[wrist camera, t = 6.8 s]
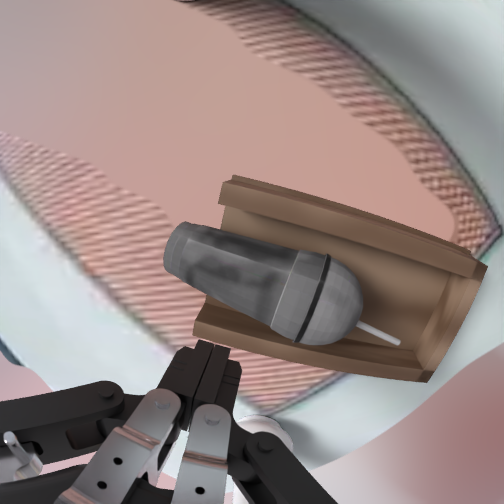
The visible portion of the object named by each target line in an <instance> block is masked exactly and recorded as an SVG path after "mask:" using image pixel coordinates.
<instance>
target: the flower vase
mask: <svg viewBox="0 0 504 504" xmlns="http://www.w3.org/2000/svg"><path fill="white" fill-rule="evenodd" d="M236 423H237V424H238V425H239V426H240V427H241V428H243V429H245V430H247V431H249V432H251V433H252V434H253V433H255V432H260V431H265V432H270V433H272V434H274V435H276V436H278V437H279V438H280V439H281V440H282V442H283V443H284V444H285V445H286V446H287V448H288V449H289V450H290V451H291V452H292V453H293V449H294V448H293V441H292V439H291V438H290V436H289V435H288V433H287V432H285V431H284V430H283V429H282V428H281V426H280V425H279V423H277V422H276V421H275V420H273V419H271V418H269V417H266V416H260V415H250V416H245V417H243V418H240V419H239V420H238V421H236ZM233 482H234V481H233ZM232 504H249V503H248V501H247V500H246V499H245V497H244V496H243V494H242V493H241V491H240V490H239V489H238V487H237V486H236V484H235V483H234V490H233V499H232Z"/></svg>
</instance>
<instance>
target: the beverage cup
mask: <svg viewBox="0 0 504 504" xmlns="http://www.w3.org/2000/svg"><path fill="white" fill-rule="evenodd" d="M163 260H164V267H165V270H166V271H167V272H169V273H171V274H173V275H175V276H176V277H178V278H179V279H181V280H182V281H183V282H185V283H187V284H189V285H191V286H192V287H194V288H196V289H198V290H200V291H202V292H204V293H205V294H207V295H209V296H211V297H213V298H215V299H217V300H219V301H221V302H222V303H224V304H226V305H228V306H230V307H232V308H234V309H236V310H238V311H240V312H242V313H244V314H246V315H248V316H250V317H252V318H254V319H256V320H258V321H260V322H262V323H264V324H266V325H268V326H270V327H271V329H272V330H274V331H276V332H277V333H279V334H281V335H282V336H284V337H286V338H289V339H291V340H293V341H292V342H294V343H303V344H307V345H325V344H330V343H333V342H336V341H338V340H340V339H342V338H344V337H345V336H346V335H348V334H349V333H350V332H351V331H352V330H353V328H354V327H355V326H357V327H359V328H361V329H363V330H365V331H367V332H369V333H372V334H374V335H376V336H378V337H380V338H382V339H384V340H387V341H389V342H391V343H393V344H395V345H397V346H398V345H399V344H400V342H401V341H400V340H399V339H397V338H395V337H393V336H390V335H388V334H386V333H384V332H382V331H380V330H378V329H376V328H374V327H372V326H370V325H368V324H365V323H363V322H361V321H359V318H360V316H361V313H362V309H363V294H362V289H361V286H360V283H359V281H358V279H357V278H356V276H355V275H354V273H353V272H352V271H351V270H350V269H349V268H348V267H347V266H346V265H345V264H343V263H341V262H340V261H338V260H336V259H334V258H332V257H331V256H330V255H329V254H325V255H323V254H320V253H317V252H312V251H306V250H300V251H298V250H294V249H291V248H287V247H283V246H280V245H276V244H272V243H269V242H265V241H261V240H257V239H254V238H250V237H246V236H242V235H239V234H235V233H231V232H227V231H223V230H220V229H216V228H212V227H208V226H204V225H197V224H191V223H189V222H183V223H181V224H180V225H178V226H177V227H176V228H175V230H174V231H173V232H172V234H171V236H170V238H169V240H168V242H167V245H166V248H165V252H164V258H163Z"/></svg>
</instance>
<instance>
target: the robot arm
mask: <svg viewBox="0 0 504 504" xmlns="http://www.w3.org/2000/svg"><path fill="white" fill-rule="evenodd" d="M176 1H193V0H176ZM230 350H231V348H227V347H223V346H220V345H216V344H215V347H214V344H213V343H209V342H206V341H203V340H198V342H197V344H196V346H195V348H194V349H192V348H189V347H186V346H185V347H183V348H182V349H180V350H178V351H177V352H176V354H175V356H174V358H173V360H172V361H171V363H170V365H169V367H168V368H167V370H166V372H165V374H164V375H163V377H162V379H161V381H160V383H159V384H158V386H157V388H156V389H153V390H151V391H149V392H148V393H147V394H146V395H131V394H124V392H123V390H122V388H121V387H120V386H119V385H117V384H116V383H114V382H111V381H99V382H95V383H91V384H87V385H82V386H78V387H74V388H70V389H65V390H60V391H56V392H51V393H46V394H41V395H36V396H31V397H25V398H19V399H14V400H8V401H1V402H0V504H223V503H224V496H225V487H226V479H227V474H229V475H230V476H232V479H233V481H234V483H235V484H236V486H237V487H238V489H239V490H240V491H241V493H242V494H243V496H244V497H245V499H246V500H247V501H248V503H249V504H338V503H337V502H336V501H335V500H334V499H333V498H332V497H331V496H330V495H329V494H328V493H327V492H326V491H325V490H324V489H323V488H322V486H321V485H320V484H319V483H318V482H317V481H316V480H315V479H314V478H313V476H312V475H311V474H310V473H309V472H308V471H307V470H306V469H305V467H304V466H303V465H302V464H301V463H300V462H299V461H298V459H297V458H296V457H295V456H294V455H293V454H292V452H291V451H290V450H289V449H288V448H287V446H286V445H285V444H284V443H283V442H282V440H281V439H280V438H279V437H278V436H276V435H274V434H272V433H270V432H265V431H260V432H255V433H253V434H252V433H251V432H249V431H247V430H245V429H243V428H241V427H240V426H239V425H238V424H237V423H236V422H235V420H234V418H233V408H234V404H235V399H236V395H237V391H238V386H239V382H240V378H241V373H242V369H241V366H240V363H239V362H237V361H233V360H229V359H228V358H229V354H230ZM189 424H190V425H189ZM188 427H189V431H188V432H189V436H188V440H187V444H186V448H185V452H184V454H183V457H182V461H181V465H180V469H179V473H178V477H177V481H176V485H175V489H174V490H168V489H160V488H157V487H156V485H157V481H158V478H159V475H160V473H161V471H162V469H163V467H164V465H165V463H166V461H167V460H168V458H169V456H170V454H171V452H172V450H173V448H174V446H175V444H176V440H177V439H178V436H179V434H180V431H181V430H184V431H187V429H188ZM95 451H97V452H96V453H95V455H94V456H93V458H92V459H91V460H90V462H89V463H88V464H82V465H76V466H72V467H69V468H65V469H62V470H58V471H55V472H51V473H47V474H43V475H39V474H40V472H41V471H42V467H43V465H45V464H50V463H53V462H58V461H62V460H66V459H70V458H74V457H78V456H81V455H85V454H88V453H92V452H95Z"/></svg>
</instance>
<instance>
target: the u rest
mask: <svg viewBox="0 0 504 504" xmlns="http://www.w3.org/2000/svg"><path fill="white" fill-rule="evenodd" d="M218 204H221V205H225V210H224V215H223V219H222V224H221V229H220V230H223V231H227V232H231V233H235V234H239V235H242V236H246V237H250V238H254V239H257V240H261V241H265V242H269V243H272V244H276V245H280V246H283V247H287V248H291V249H294V250H298V251H300V250H306V251H312V252H317V253H320V254H323V255H325V254H329V255H330V256H331V257H332V258H334V259H336V260H338V261H340V262H341V263H343V264H345V265H346V266H347V267H348V268H349V269H350V270H351V271H352V272H353V273H354V275H355V276H356V278H357V279H358V281H359V283H360V286H361V289H362V294H363V309H362V313H361V316H360V318H359V321H361V322H363V323H365V324H368V325H370V326H372V327H374V328H376V329H378V330H380V331H382V332H384V333H386V334H388V335H390V336H393V337H395V338H397V339H399V340H400V341H401V342H400V344H399V345H398V346H397V345H395V344H393V343H391V342H389V341H387V340H384V339H382V338H380V337H378V336H376V335H374V334H372V333H369V332H367V331H365V330H363V329H361V328H359V327H357V326H355V327H354V328H353V330H352V331H351V332H350V333H349V334H348V335H346V336H345V337H344V338H342V339H340V340H338V341H336V342H333V343H330V344H325V345H307V344H303V343H294V342H292V341H293V340H291V339H289V338H286V337H284V336H282V335H281V334H279V333H277V332H276V331H274V330H272V329H271V327H270V326H268V325H266V324H264V323H262V322H260V321H258V320H256V319H254V318H252V317H250V316H248V315H246V314H244V313H242V312H240V311H238V310H236V309H234V308H232V307H230V306H228V305H226V304H224V303H222V302H221V301H219V300H217V299H215V298H213V297H211V296H209V295H206V301H205V304H204V305H203V307H202V309H201V311H200V312H199V314H198V316H197V318H196V319H195V323H194V329H193V336H196V337H200V338H203V339H206V340H210V341H213V342H216V343H220V344H223V345H227V346H231V347H234V348H238V349H242V350H245V351H249V352H253V353H257V354H261V355H265V356H269V357H273V358H278V359H282V360H286V361H291V362H295V363H300V364H305V365H310V366H314V367H320V368H325V369H330V370H336V371H341V372H347V373H353V374H359V375H366V376H373V377H380V378H387V379H395V380H404V381H413V382H424V383H427V382H428V381H429V379H430V378H431V376H432V375H433V373H434V372H435V370H436V368H437V367H438V365H439V364H440V362H441V360H442V359H443V357H444V356H445V354H446V352H447V350H448V349H449V347H450V345H451V344H452V342H453V340H454V338H455V336H456V335H457V333H458V331H459V329H460V327H461V325H462V323H463V321H464V319H465V317H466V315H467V313H468V311H469V309H470V307H471V305H472V303H473V301H474V298H475V296H476V294H477V292H478V290H479V287H480V285H481V282H482V280H483V278H484V275H485V273H486V270H487V268H488V266H486V265H485V264H483V263H482V262H480V261H479V260H477V259H475V258H474V257H472V256H470V253H471V251H470V250H468V249H465V248H463V247H461V246H458V245H456V244H453V243H451V242H448V241H446V240H443V239H441V238H438V237H435V236H433V235H430V234H427V233H425V232H422V231H420V230H417V229H414V228H411V227H408V226H406V225H403V224H400V223H397V222H395V221H392V220H389V219H386V218H383V217H380V216H377V215H374V214H371V213H368V212H365V211H362V210H359V209H356V208H353V207H350V206H346V205H343V204H340V203H336V202H333V201H330V200H326V199H323V198H320V197H316V196H313V195H309V194H306V193H303V192H299V191H296V190H292V189H288V188H284V187H281V186H277V185H273V184H269V183H265V182H262V181H258V180H254V179H250V178H245V177H241V176H237V175H233V176H232V180H229V181H225V182H223V184H222V188H221V193H220V197H219V201H218Z"/></svg>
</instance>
